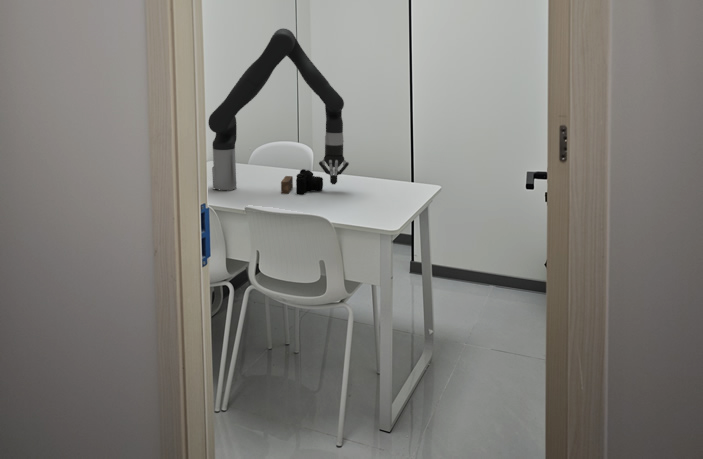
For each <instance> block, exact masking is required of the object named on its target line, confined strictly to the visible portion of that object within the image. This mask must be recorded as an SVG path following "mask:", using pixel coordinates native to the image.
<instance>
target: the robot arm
mask: <svg viewBox="0 0 703 459" xmlns="http://www.w3.org/2000/svg"><path fill="white" fill-rule="evenodd" d="M286 57H288V58H289V59H290V61H291V62H292V63H293V64H294V66H295V67H296V68H297V70H298V73H299V74H300V75H301V78H302V79H303V80H304V82H305V83H306V84H307V86H308V87H309V88H310V89H311V90H312V91H313V93H315V95H317V96H318V97H319V99H320V100H321V102H323V104H324V109H325V136H324V157H323V159H322V160H319V162H318V164H319V166H320V167H321V169H322V170H323V172H325V174H326V175H329V179H330V180H329V182H330V184H331V185H336V184H338V176H339V175H342V173H344V171H345V170H346V169H347V168H348V166H349V165H350V163H349V161H347V160H345V157H344V142H345V141H344V133H343V132H344V122H343V121H344V120H343V117H342V112H343V111H342V110H343V109H344V107H345V102H344V98H343V97H342V96H341V95H340V94H339V93H338V92H337V90H336V89H334V87H333V86H332V85H331V84H330V83H329V81H328V80H327V78H326V77H325V76H324V75H323V73H321V71H320V70H319V69H318V68H317V67H316V65H315V64H314V63H313V61H311V59H310V58H309V56H308V55H307V54H306V53H305V51H304V50H303V48H302V46H301V45H300V43H299V41H298V40H297V38H296V36H295V35H294V33H293V32H292V31H291V30H289V29H288V28H279V29H277V30H276V31H275V32H274V33H273V34H272V36H271V37H270V40H269V41H268V43H267V45H266V46H265V49H263V52H262V53H261V55H260V56H259V57H258V58H257V59H256V60H255V61H253V63H251V64H250V66H248V68H246V70H245V71H244V73H242V75H241V77H239V79H238V81H237V82H236V83H235V85H234V86H233V88H232V89H231V91H230V92H229V93H228V94H227V95H226V98H225V99H224V100H223V101H222V102H221V104H219V106H217V107H216V109H215V110H213V112H212V113H211V114H210V115H209V118H208V127H209V129H210V130H211V131H212V132H213V133H215V135H214V136H215V137H214V139H213V141H212V158H213V159H212V161H213V166H212V168H211V170H212V171H211V172H212V173H211V174H212V189H213V188H215V189H220V190H219V191H222V190H227V191H234V190H235V189H237V166H236V165H237V164H236V160H237V159H236V142H237V128H238V127H237V117H236V116H237V114H238V113H239V112H240V111H241V110H242V109H243V108H245V106H246V105H248V104H249V103H250V102H252V100H253V99H254V98H256V97H257V95H258V94H259V93H260V91H261V90H262V89H263V87H264V86H265V85H266V83H267V82H268V81H269V79H270V77H271V75H272V74H273V72H274V70H275V68H277V66H278V65H279V64H280V63H281V62H282V61H283V60H284V59H285V58H286ZM326 165H327V166H328V167H329V168H328V167H327V166H326ZM340 166H342V167H341V169H339V167H340ZM215 189H214V190H215ZM233 189H234V190H233Z"/></svg>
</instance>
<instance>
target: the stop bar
mask: <svg viewBox="0 0 703 459" xmlns="http://www.w3.org/2000/svg"><path fill="white" fill-rule="evenodd" d="M293 179H294V178H293V176H292V175H289V176H288V175H285V176H284V178H283V179H281V182H280V191H281V192H280V193H281V194H282V195H283V194H284V195H285V194H286V195H288V194H290V193H291V191H292V189H293V186H294V184H293Z"/></svg>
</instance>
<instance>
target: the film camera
mask: <svg viewBox="0 0 703 459" xmlns="http://www.w3.org/2000/svg"><path fill="white" fill-rule="evenodd" d="M295 180H296V181H295V183H296V185H295V187H296V190H295V191H296V192H295V193H296V195H297V196H298V195H300V196H301V195H302V196H303V195H305V194H306V193H307V192H321V191H323V187H324V178H323V177H322V176H315V175H314V173H313V171H311V170H309V169H305V168H302V169H301V170H299V173H297V174H296V179H295Z"/></svg>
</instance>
